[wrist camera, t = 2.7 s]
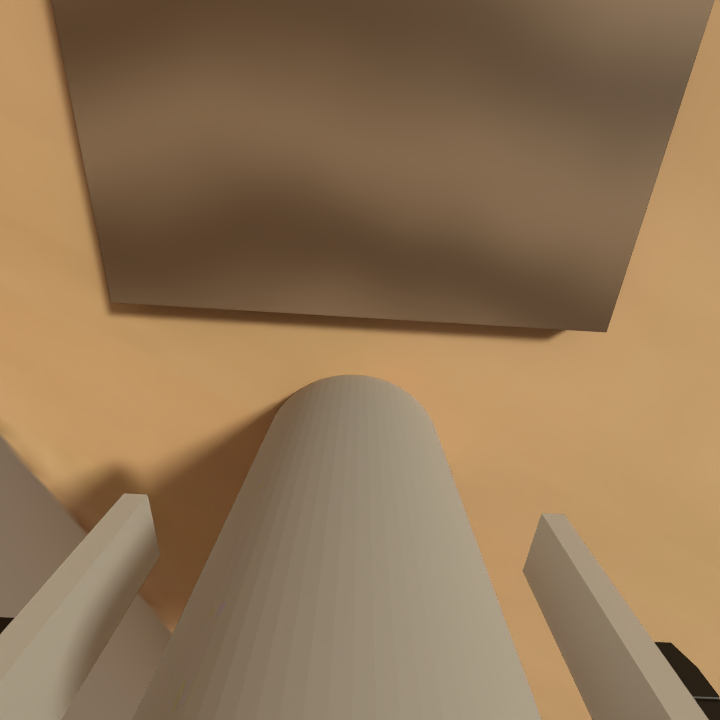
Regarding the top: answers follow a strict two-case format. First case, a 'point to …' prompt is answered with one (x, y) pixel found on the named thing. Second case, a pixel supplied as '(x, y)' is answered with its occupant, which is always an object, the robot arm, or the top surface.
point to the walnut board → (376, 151)
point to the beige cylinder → (344, 581)
